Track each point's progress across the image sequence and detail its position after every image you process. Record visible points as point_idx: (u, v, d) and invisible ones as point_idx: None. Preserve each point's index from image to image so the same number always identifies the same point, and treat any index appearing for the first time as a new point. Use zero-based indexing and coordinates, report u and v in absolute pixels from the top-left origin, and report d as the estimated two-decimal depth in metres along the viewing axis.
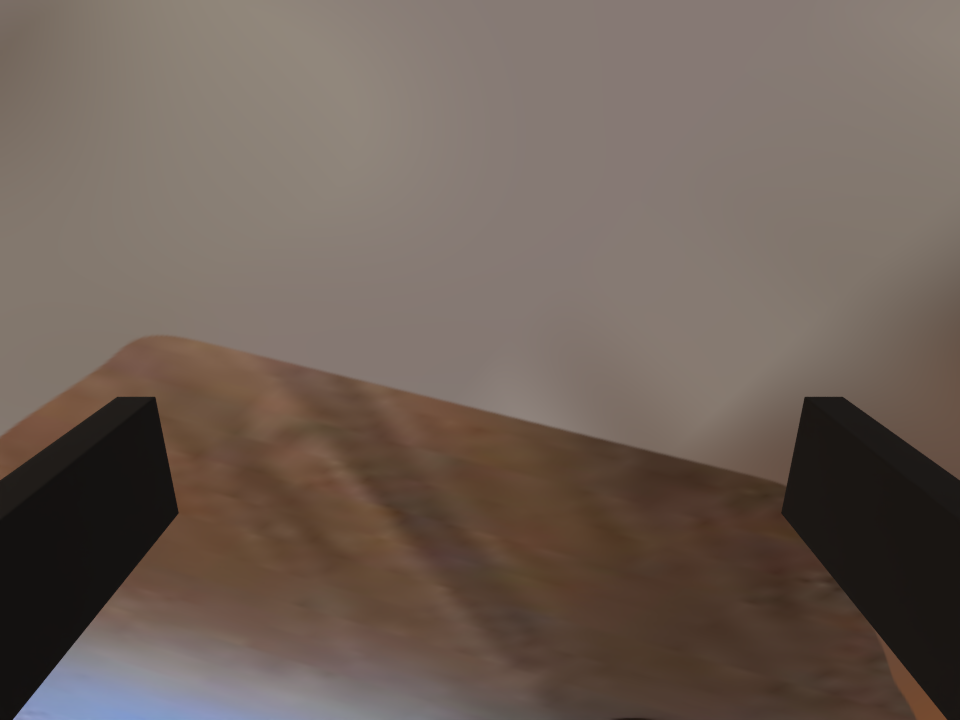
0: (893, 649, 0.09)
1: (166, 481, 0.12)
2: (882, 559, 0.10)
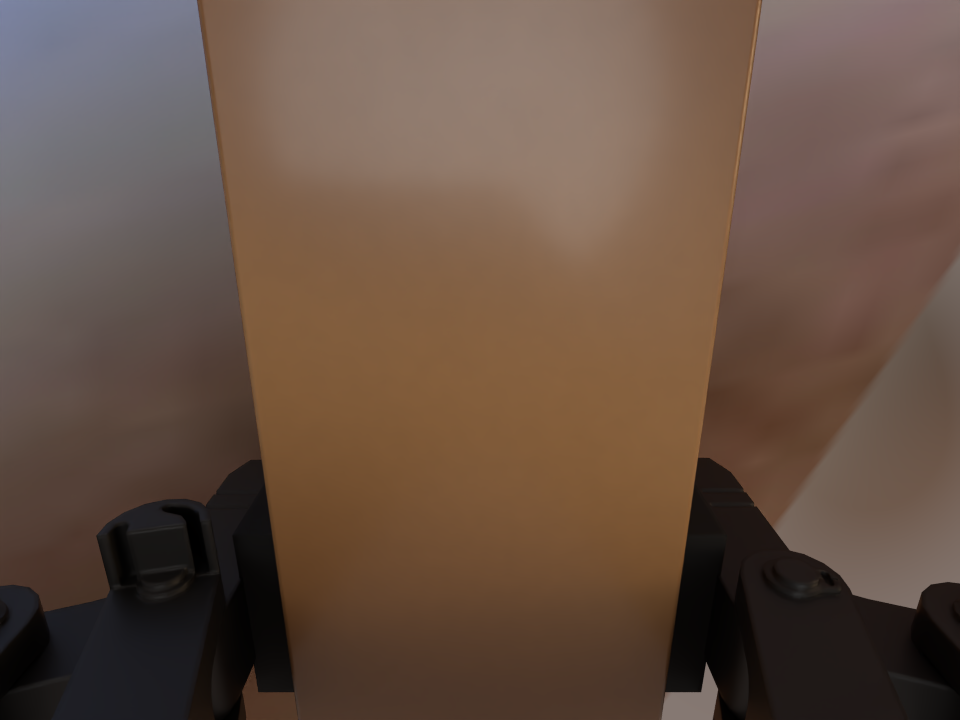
0: None
1: None
2: None
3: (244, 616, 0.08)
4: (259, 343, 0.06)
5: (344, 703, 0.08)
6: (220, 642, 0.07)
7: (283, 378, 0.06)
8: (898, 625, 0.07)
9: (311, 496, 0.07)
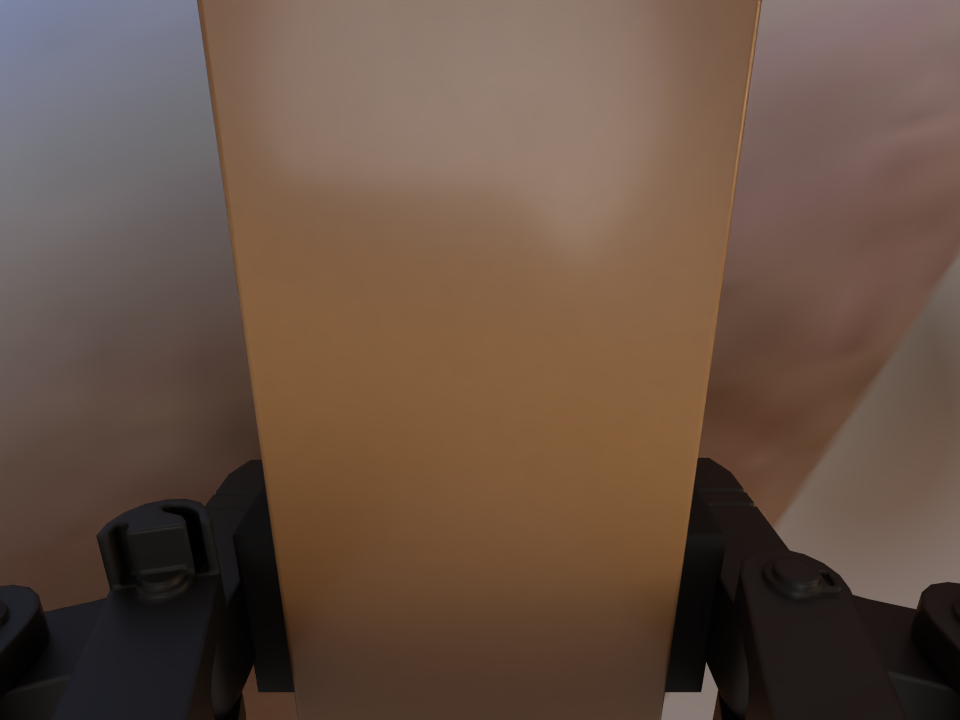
0: None
1: None
2: None
3: (244, 617, 0.08)
4: (260, 344, 0.06)
5: (344, 702, 0.08)
6: (220, 642, 0.07)
7: (282, 379, 0.06)
8: (897, 626, 0.07)
9: (311, 496, 0.07)
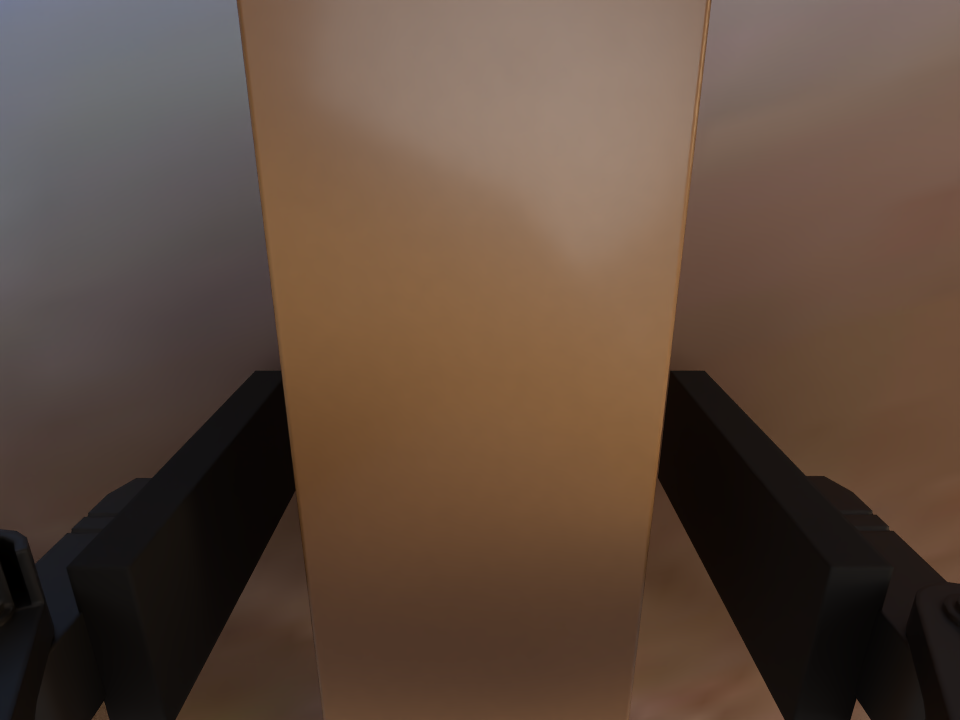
0: (715, 585, 0.11)
1: None
2: (710, 508, 0.11)
3: (85, 654, 0.08)
4: (281, 264, 0.07)
5: (353, 604, 0.09)
6: (50, 677, 0.07)
7: (302, 298, 0.07)
8: None
9: (325, 406, 0.08)
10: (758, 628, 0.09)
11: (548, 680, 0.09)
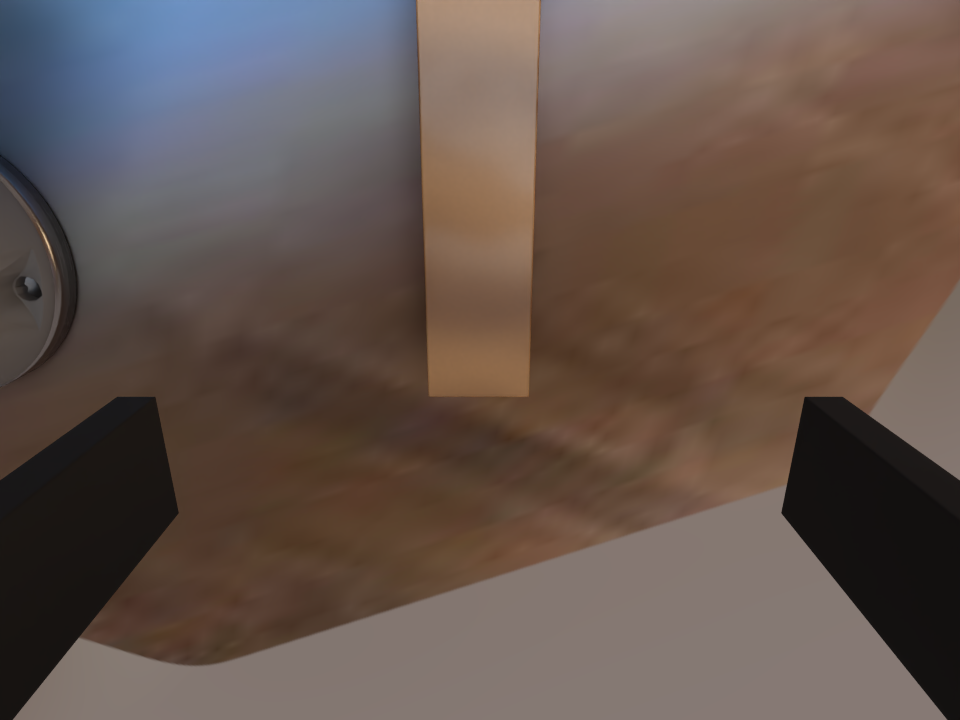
0: (893, 649, 0.09)
1: (166, 481, 0.12)
2: (882, 559, 0.10)
3: None
4: (425, 172, 0.26)
5: (439, 287, 0.28)
6: None
7: (430, 182, 0.26)
8: None
9: (434, 216, 0.27)
10: None
11: (502, 317, 0.28)
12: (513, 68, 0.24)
